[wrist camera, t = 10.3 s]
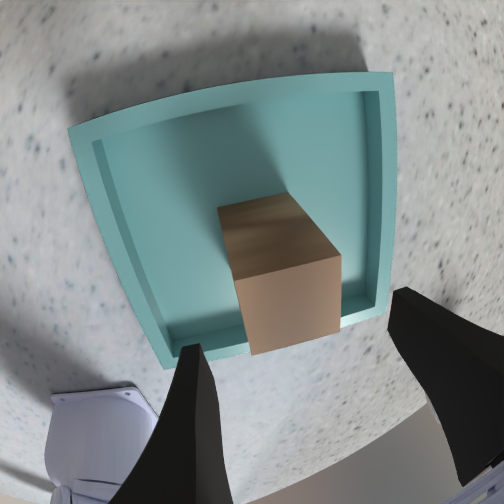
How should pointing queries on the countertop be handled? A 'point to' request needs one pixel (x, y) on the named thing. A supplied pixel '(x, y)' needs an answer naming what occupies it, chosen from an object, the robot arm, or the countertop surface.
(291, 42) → the countertop surface
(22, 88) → the countertop surface
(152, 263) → the tray
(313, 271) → the block
